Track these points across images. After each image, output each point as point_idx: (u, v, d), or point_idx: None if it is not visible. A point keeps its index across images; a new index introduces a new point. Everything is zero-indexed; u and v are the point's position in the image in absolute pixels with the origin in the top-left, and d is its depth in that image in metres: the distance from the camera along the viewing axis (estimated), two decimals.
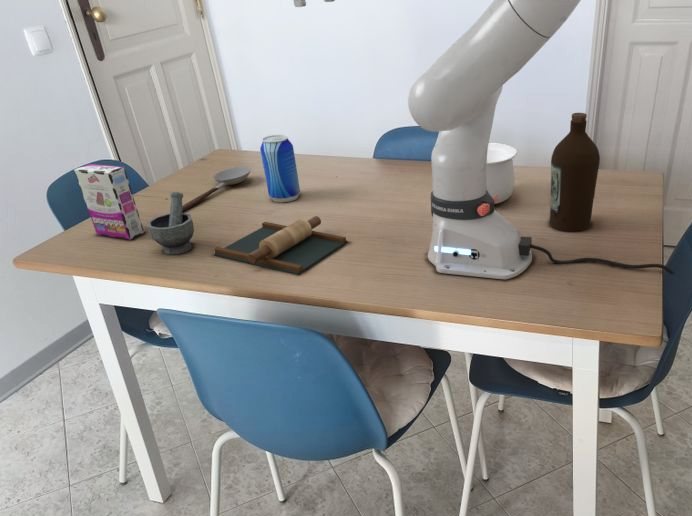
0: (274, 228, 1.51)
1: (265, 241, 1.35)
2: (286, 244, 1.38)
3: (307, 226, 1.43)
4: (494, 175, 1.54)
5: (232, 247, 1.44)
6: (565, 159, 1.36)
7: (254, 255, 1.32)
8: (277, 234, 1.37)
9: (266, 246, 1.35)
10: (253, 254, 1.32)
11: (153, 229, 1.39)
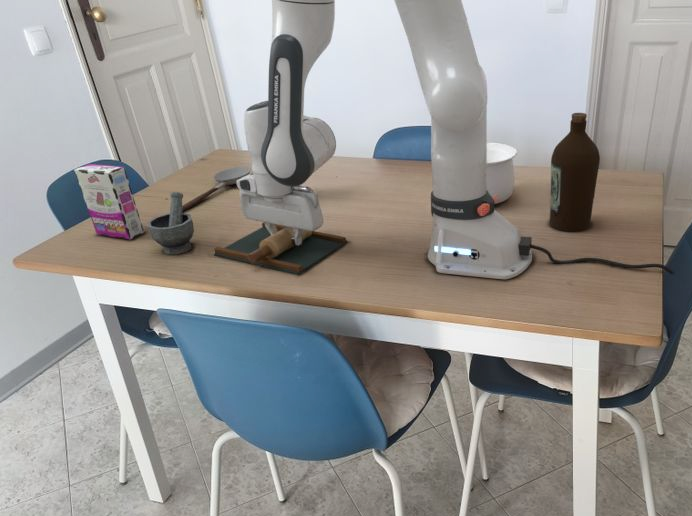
0: None
1: (265, 241, 1.35)
2: (286, 244, 1.38)
3: None
4: (494, 175, 1.54)
5: (232, 247, 1.44)
6: (565, 159, 1.36)
7: (254, 255, 1.32)
8: (277, 234, 1.37)
9: (266, 246, 1.35)
10: (253, 254, 1.32)
11: (153, 229, 1.39)
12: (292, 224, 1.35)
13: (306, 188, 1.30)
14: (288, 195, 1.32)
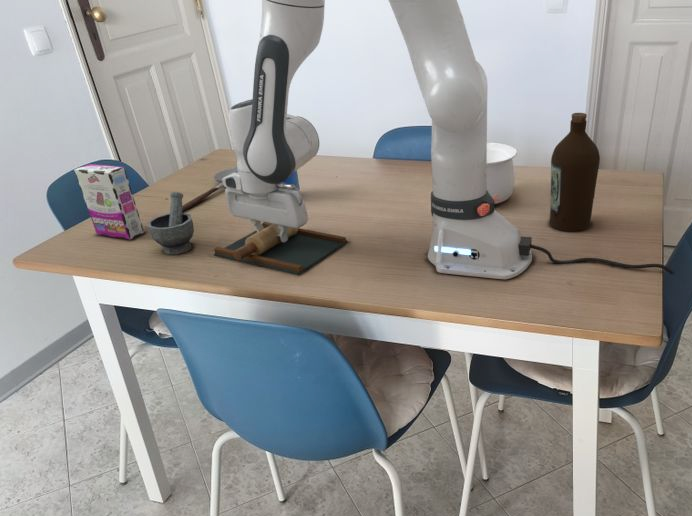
0: None
1: (251, 238, 1.37)
2: (271, 241, 1.39)
3: None
4: (494, 175, 1.54)
5: (232, 247, 1.44)
6: (565, 159, 1.36)
7: (239, 252, 1.34)
8: (263, 231, 1.39)
9: (252, 243, 1.37)
10: (239, 251, 1.34)
11: (153, 229, 1.39)
12: (277, 221, 1.37)
13: (290, 185, 1.32)
14: (273, 192, 1.33)
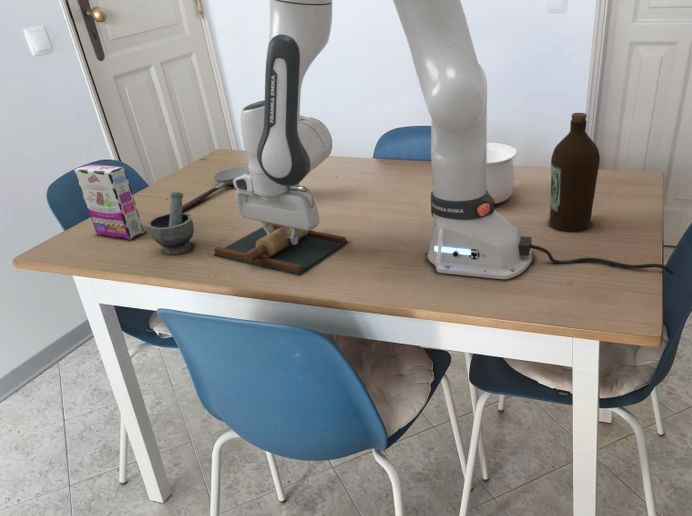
0: (274, 228, 1.51)
1: (261, 240, 1.35)
2: (282, 243, 1.38)
3: None
4: (494, 175, 1.54)
5: (232, 247, 1.44)
6: (565, 159, 1.36)
7: (250, 254, 1.32)
8: (273, 233, 1.38)
9: (262, 245, 1.35)
10: (249, 253, 1.32)
11: (153, 229, 1.39)
12: (288, 224, 1.36)
13: (302, 187, 1.30)
14: (284, 194, 1.32)
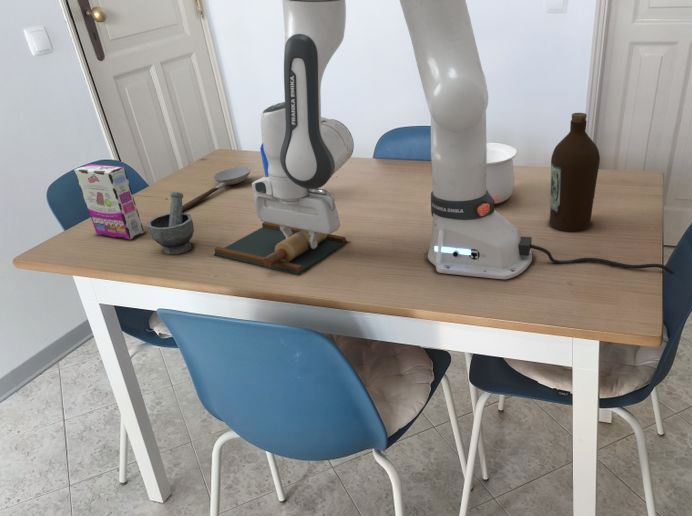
0: (274, 228, 1.51)
1: (281, 244, 1.33)
2: (301, 247, 1.36)
3: None
4: (494, 175, 1.54)
5: (232, 247, 1.44)
6: (565, 159, 1.36)
7: (270, 258, 1.30)
8: (293, 237, 1.36)
9: (282, 249, 1.33)
10: (269, 258, 1.30)
11: (153, 229, 1.39)
12: (308, 227, 1.33)
13: (323, 191, 1.28)
14: (304, 197, 1.30)
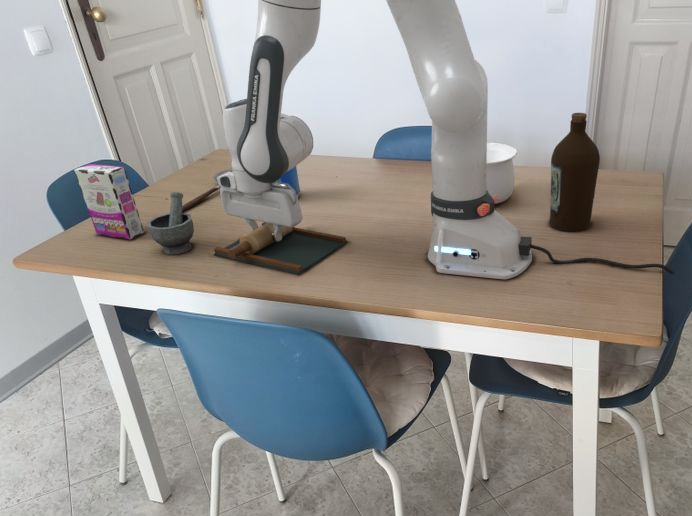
0: None
1: (245, 237, 1.37)
2: (266, 240, 1.40)
3: None
4: (494, 175, 1.54)
5: (232, 247, 1.44)
6: (565, 159, 1.36)
7: (233, 250, 1.34)
8: (257, 230, 1.40)
9: (246, 242, 1.37)
10: (233, 250, 1.34)
11: (153, 229, 1.39)
12: (271, 220, 1.38)
13: (285, 185, 1.32)
14: (267, 191, 1.34)
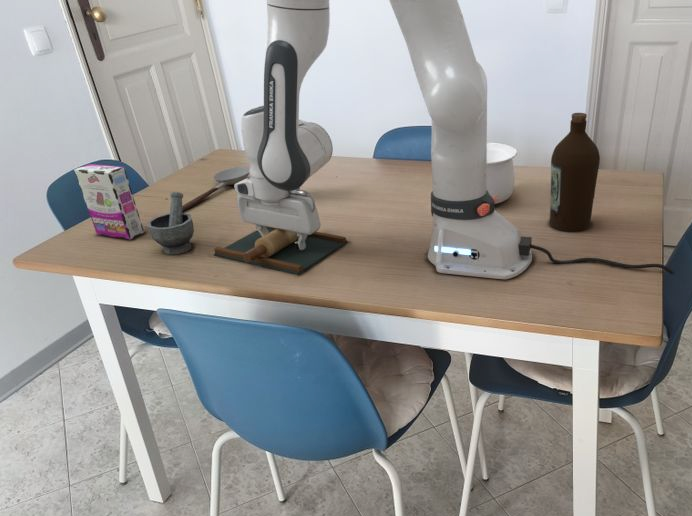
0: (274, 228, 1.51)
1: (260, 240, 1.35)
2: (281, 243, 1.38)
3: None
4: (494, 175, 1.54)
5: (232, 247, 1.44)
6: (565, 159, 1.36)
7: (249, 254, 1.32)
8: (272, 233, 1.38)
9: (261, 245, 1.36)
10: (248, 253, 1.32)
11: (153, 229, 1.39)
12: (289, 228, 1.36)
13: (303, 192, 1.31)
14: (285, 198, 1.33)
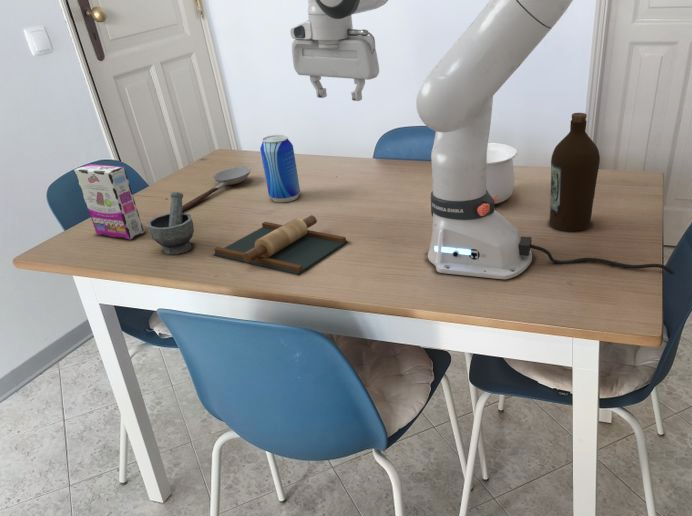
0: (274, 228, 1.51)
1: (260, 240, 1.35)
2: (281, 243, 1.38)
3: (303, 225, 1.44)
4: (494, 175, 1.54)
5: (232, 247, 1.44)
6: (565, 159, 1.36)
7: (249, 254, 1.32)
8: (272, 233, 1.38)
9: (261, 245, 1.36)
10: (248, 253, 1.32)
11: (153, 229, 1.39)
12: (347, 74, 1.32)
13: (364, 31, 1.27)
14: (344, 40, 1.28)
